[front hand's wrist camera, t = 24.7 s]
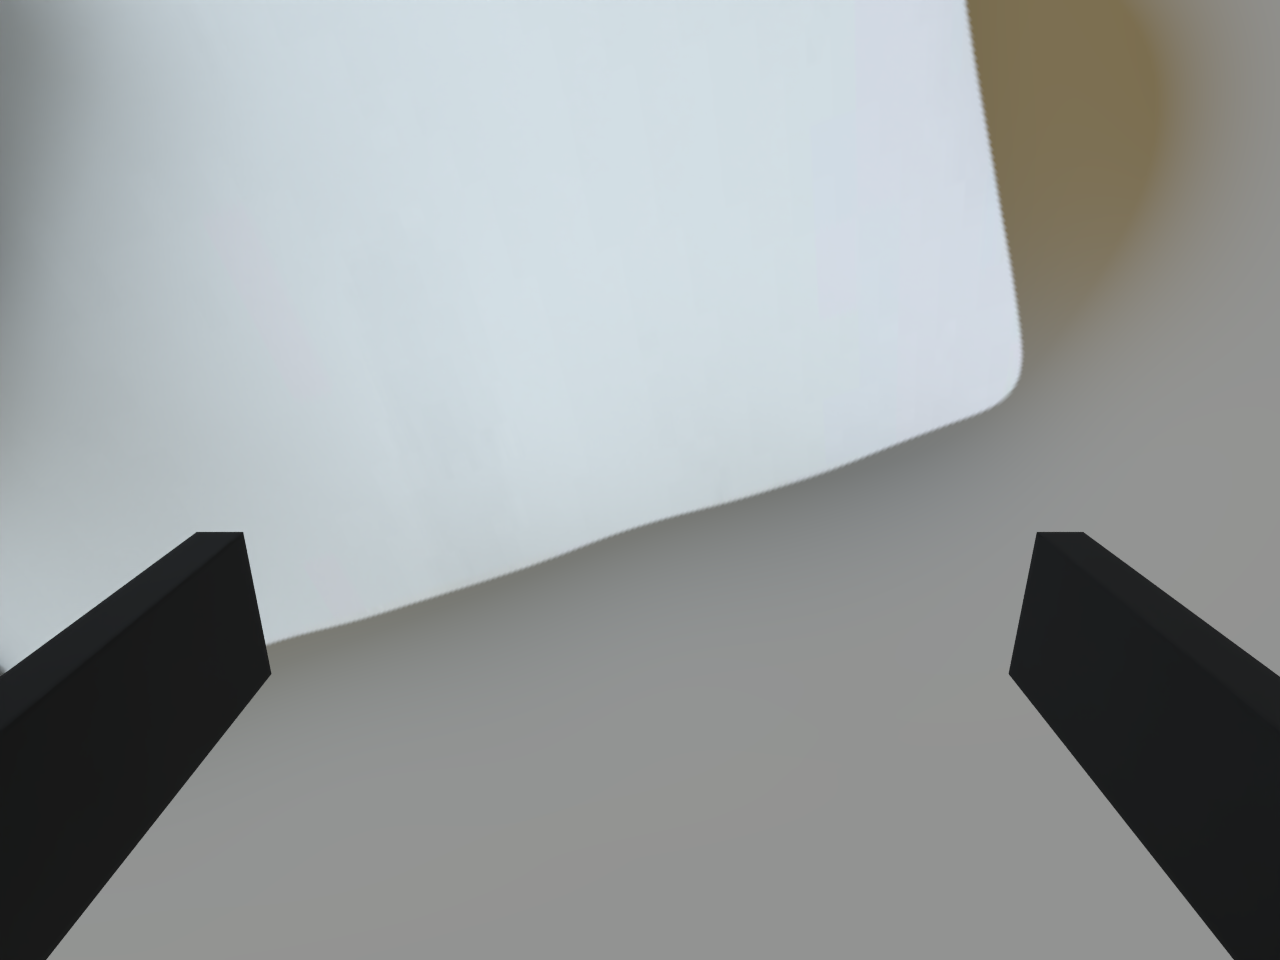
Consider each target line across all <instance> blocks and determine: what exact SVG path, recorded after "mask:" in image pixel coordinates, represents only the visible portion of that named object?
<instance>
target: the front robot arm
mask: <svg viewBox="0 0 1280 960" xmlns="http://www.w3.org/2000/svg"><path fill="white" fill-rule="evenodd" d="M270 675H271V670H270V665H269V660H268V655H267V650H266V645H265V640H264V635H263V630H262V625H261V620H260V614H259V609H258V604H257V599H256V594H255V589H254V584H253V579H252V574H251V569H250V564H249V559H248V554H247V549H246V544H245V539H244V534H243V532H196V533H195V534H194V535H192V536H191V537H189V538H188V539H187V540H185V541H184V542H183V543H181V544H180V545H179V546H177V547H176V548H175V549H173V550H172V551H170V552H169V553H168V554H166V555H165V556H164V557H162V558H161V559H160V560H158V561H157V562H155V563H154V564H153V565H151V566H150V567H149V568H147V569H146V570H145V571H143V572H142V573H141V574H139V575H138V576H136V577H135V578H134V579H132V580H131V581H130V582H128V583H127V584H126V585H124V586H123V587H122V588H120V589H119V590H117V591H116V592H115V593H113V594H112V595H111V596H109V597H108V598H107V599H105V600H104V601H103V602H101V603H100V604H98V605H97V606H96V607H94V608H93V609H92V610H90V611H89V612H88V613H86V614H85V615H83V616H82V617H81V618H79V619H78V620H77V621H75V622H74V623H73V624H71V625H70V626H69V627H67V628H66V629H64V630H63V631H62V632H60V633H59V634H58V635H56V636H55V637H54V638H52V639H51V640H50V641H48V642H47V643H45V644H44V645H43V646H41V647H40V648H39V649H37V650H36V651H35V652H33V653H32V654H30V655H29V656H28V657H26V658H25V659H24V660H22V661H21V662H20V663H18V664H17V665H16V666H14V667H13V668H11V669H10V670H9V671H7V672H6V673H5V674H3V675H2V676H1V677H0V960H46V959H47V958H48V957H49V955H50V954H51V953H52V952H53V950H54V949H55V948H56V947H57V945H58V944H59V943H60V941H61V940H62V939H63V938H64V936H65V935H66V934H67V933H68V931H69V930H70V929H71V927H72V926H73V925H74V924H75V922H76V921H77V920H78V919H79V917H80V916H81V915H82V913H83V912H84V911H85V910H86V908H87V907H88V906H89V905H90V903H91V902H92V901H93V899H94V898H95V897H96V896H97V894H98V893H99V892H100V891H101V889H102V888H103V887H104V885H105V884H106V883H107V882H108V881H109V879H110V878H111V877H112V875H113V874H114V873H115V872H116V870H117V869H118V868H119V867H120V865H121V864H122V863H123V861H124V860H125V859H126V858H127V856H128V855H129V854H130V853H131V851H132V850H133V849H134V848H135V846H136V845H137V844H138V842H139V841H140V840H141V839H142V837H143V836H144V835H145V834H146V832H147V831H148V830H149V828H150V827H151V826H152V825H153V823H154V822H155V821H156V820H157V818H158V817H159V816H160V815H161V813H162V812H163V811H164V809H165V808H166V807H167V806H168V804H169V803H170V802H171V801H172V799H173V798H174V797H175V795H176V794H177V793H178V792H179V790H180V789H181V788H182V787H183V785H184V784H185V783H186V782H187V780H188V779H189V778H190V776H191V775H192V774H193V773H194V771H195V770H196V769H197V768H198V766H199V765H200V764H201V762H202V761H203V760H204V759H205V757H206V756H207V755H208V753H209V752H210V751H211V750H212V749H213V747H214V746H215V745H216V743H217V742H218V741H219V740H220V738H221V737H222V736H223V735H224V733H225V732H226V731H227V729H228V728H229V727H230V726H231V724H232V723H233V722H234V721H235V719H236V718H237V717H238V715H239V714H240V713H241V712H242V710H243V709H244V708H245V707H246V705H247V704H248V703H249V702H250V700H251V699H252V698H253V696H254V695H255V694H256V693H257V691H258V690H259V689H260V688H261V686H262V685H263V684H264V682H265V681H266V680H267V679H268V677H269V676H270ZM1009 675H1010V676H1011V677H1012V679H1013V680H1014V681H1015V682H1016V684H1017V685H1018V686H1019V688H1020V689H1021V690H1022V691H1023V693H1024V694H1025V695H1026V696H1027V698H1028V699H1029V700H1030V702H1031V703H1032V704H1033V705H1034V707H1035V708H1036V709H1037V710H1038V712H1039V713H1040V714H1041V715H1042V717H1043V718H1044V719H1045V721H1046V722H1047V723H1048V724H1049V726H1050V727H1051V728H1052V729H1053V731H1054V732H1055V733H1056V735H1057V736H1058V737H1059V738H1060V740H1061V741H1062V742H1063V743H1064V745H1065V746H1066V747H1067V749H1068V750H1069V751H1070V752H1071V754H1072V755H1073V756H1074V757H1075V759H1076V760H1077V761H1078V762H1079V764H1080V765H1081V766H1082V768H1083V769H1084V770H1085V771H1086V773H1087V774H1088V775H1089V776H1090V778H1091V779H1092V780H1093V781H1094V783H1095V784H1096V785H1097V786H1098V788H1099V789H1100V790H1101V792H1102V793H1103V794H1104V795H1105V797H1106V798H1107V799H1108V800H1109V802H1110V803H1111V804H1112V806H1113V807H1114V808H1115V809H1116V811H1117V812H1118V813H1119V814H1120V816H1121V817H1122V818H1123V820H1124V821H1125V822H1126V823H1127V825H1128V826H1129V827H1130V828H1131V830H1132V831H1133V832H1134V834H1135V835H1136V836H1137V837H1138V839H1139V840H1140V841H1141V842H1142V844H1143V845H1144V846H1145V848H1146V849H1147V850H1148V851H1149V852H1150V854H1151V855H1152V856H1153V858H1154V859H1155V860H1156V861H1157V863H1158V864H1159V865H1160V867H1161V868H1162V869H1163V870H1164V872H1165V873H1166V874H1167V875H1168V877H1169V878H1170V879H1171V880H1172V882H1173V883H1174V884H1175V886H1176V887H1177V888H1178V889H1179V891H1180V892H1181V893H1182V894H1183V896H1184V897H1185V898H1186V899H1187V901H1188V902H1189V903H1190V905H1191V906H1192V907H1193V908H1194V910H1195V911H1196V912H1197V913H1198V915H1199V916H1200V917H1201V919H1202V920H1203V921H1204V922H1205V924H1206V925H1207V926H1208V927H1209V929H1210V930H1211V931H1212V933H1213V934H1214V935H1215V936H1216V938H1217V939H1218V940H1219V941H1220V943H1221V944H1222V945H1223V947H1224V948H1225V949H1226V950H1227V952H1228V953H1229V954H1230V955H1231V957H1232V958H1233V959H1234V960H1280V677H1279V676H1278V675H1277V674H1275V673H1274V672H1273V671H1271V670H1270V669H1269V668H1267V667H1266V666H1264V665H1263V664H1262V663H1260V662H1259V661H1258V660H1256V659H1255V658H1254V657H1252V656H1251V655H1250V654H1248V653H1247V652H1245V651H1244V650H1243V649H1241V648H1240V647H1239V646H1237V645H1236V644H1234V643H1233V642H1232V641H1230V640H1229V639H1228V638H1226V637H1225V636H1224V635H1222V634H1221V633H1220V632H1218V631H1217V630H1215V629H1214V628H1213V627H1211V626H1210V625H1209V624H1207V623H1206V622H1205V621H1203V620H1202V619H1201V618H1199V617H1198V616H1197V615H1195V614H1194V613H1192V612H1191V611H1190V610H1188V609H1187V608H1186V607H1184V606H1183V605H1182V604H1180V603H1179V602H1177V601H1176V600H1175V599H1173V598H1172V597H1171V596H1169V595H1168V594H1167V593H1165V592H1164V591H1163V590H1161V589H1160V588H1158V587H1157V586H1156V585H1154V584H1153V583H1152V582H1150V581H1149V580H1148V579H1146V578H1145V577H1144V576H1142V575H1141V574H1139V573H1138V572H1137V571H1135V570H1134V569H1133V568H1131V567H1130V566H1129V565H1127V564H1126V563H1124V562H1123V561H1122V560H1120V559H1119V558H1118V557H1116V556H1115V555H1114V554H1112V553H1111V552H1110V551H1108V550H1107V549H1105V548H1104V547H1103V546H1101V545H1100V544H1099V543H1097V542H1096V541H1095V540H1093V539H1092V538H1090V537H1089V536H1088V535H1086V534H1085V533H1084V532H1037V534H1036V539H1035V544H1034V549H1033V554H1032V559H1031V564H1030V569H1029V574H1028V579H1027V584H1026V589H1025V594H1024V599H1023V605H1022V610H1021V615H1020V620H1019V625H1018V630H1017V635H1016V640H1015V645H1014V650H1013V655H1012V660H1011V665H1010V670H1009Z"/></svg>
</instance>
